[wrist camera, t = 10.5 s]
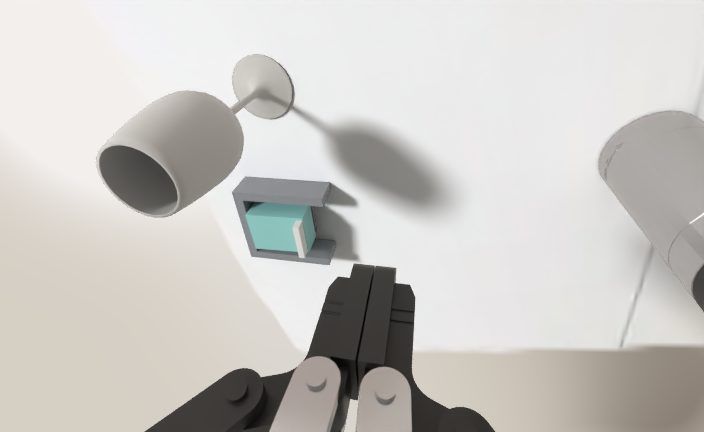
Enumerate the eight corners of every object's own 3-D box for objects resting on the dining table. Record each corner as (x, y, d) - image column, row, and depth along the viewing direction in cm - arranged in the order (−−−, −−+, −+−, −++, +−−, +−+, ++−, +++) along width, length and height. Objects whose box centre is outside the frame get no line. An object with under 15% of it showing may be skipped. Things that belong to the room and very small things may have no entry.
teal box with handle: (312, 197, 47) (298, 225, 42) (318, 230, 51) (305, 260, 46) (260, 194, 49) (240, 222, 44) (269, 226, 52) (251, 255, 47)
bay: (329, 182, 45) (322, 199, 42) (335, 246, 52) (329, 265, 49) (245, 176, 47) (231, 192, 44) (261, 239, 54) (251, 256, 51)
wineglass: (278, 44, 36) (147, 117, 19) (303, 113, 40) (213, 221, 23) (219, 61, 38) (58, 140, 22) (249, 125, 42) (132, 231, 26)
